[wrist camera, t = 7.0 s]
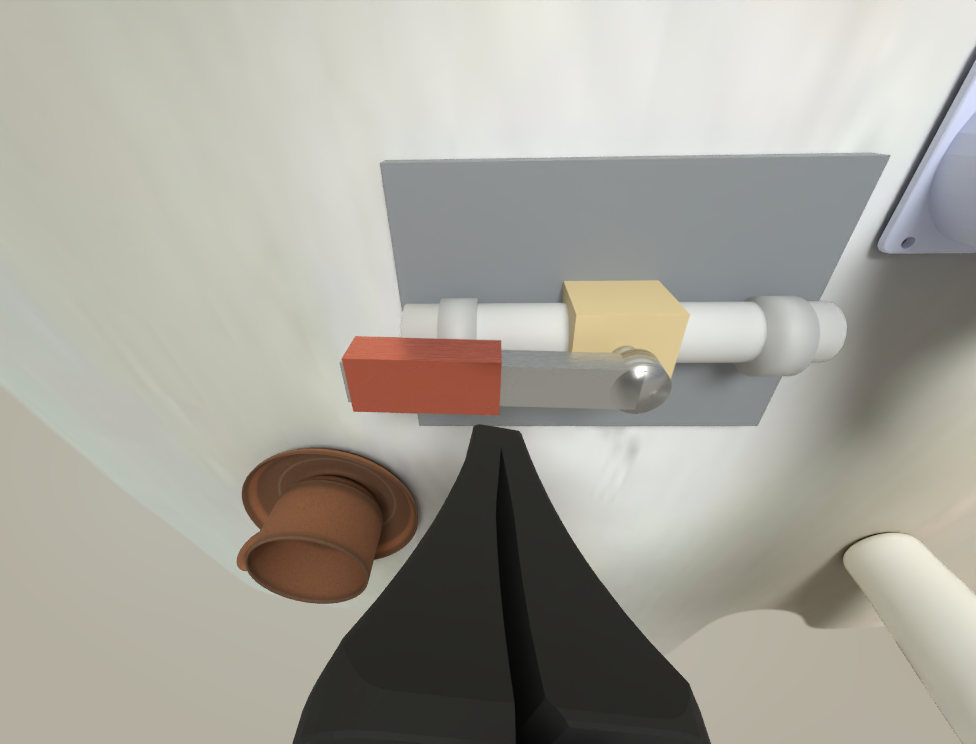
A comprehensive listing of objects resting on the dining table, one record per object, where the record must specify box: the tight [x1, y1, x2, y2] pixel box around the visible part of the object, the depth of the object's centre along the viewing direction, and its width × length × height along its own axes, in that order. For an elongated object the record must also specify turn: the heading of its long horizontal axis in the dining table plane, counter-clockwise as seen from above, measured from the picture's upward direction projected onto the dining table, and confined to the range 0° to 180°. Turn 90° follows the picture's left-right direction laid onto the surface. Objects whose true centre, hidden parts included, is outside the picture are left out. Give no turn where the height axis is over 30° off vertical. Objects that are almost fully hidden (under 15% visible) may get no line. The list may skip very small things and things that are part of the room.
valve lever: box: [340, 336, 672, 415], centre depth 15 cm, size 12×2×2 cm, turn 89°
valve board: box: [380, 153, 891, 426], centre depth 18 cm, size 20×14×5 cm
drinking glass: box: [843, 533, 976, 744], centre depth 25 cm, size 7×7×15 cm
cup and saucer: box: [237, 448, 418, 604], centre depth 26 cm, size 12×12×6 cm
